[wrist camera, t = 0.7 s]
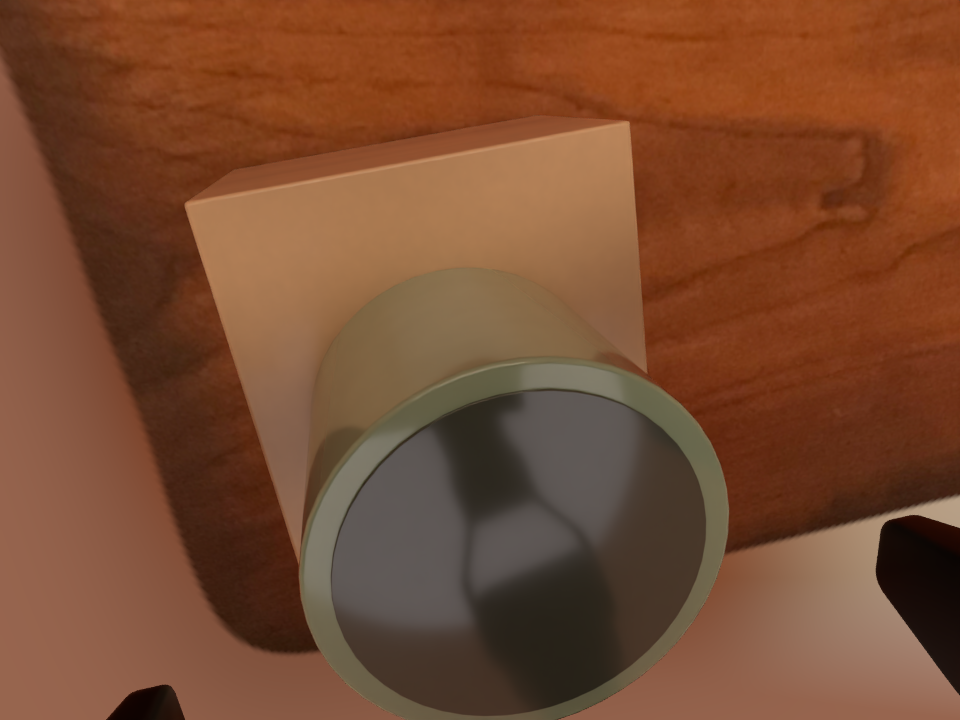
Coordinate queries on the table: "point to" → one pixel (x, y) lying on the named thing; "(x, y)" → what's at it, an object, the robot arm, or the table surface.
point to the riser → (409, 249)
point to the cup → (499, 505)
